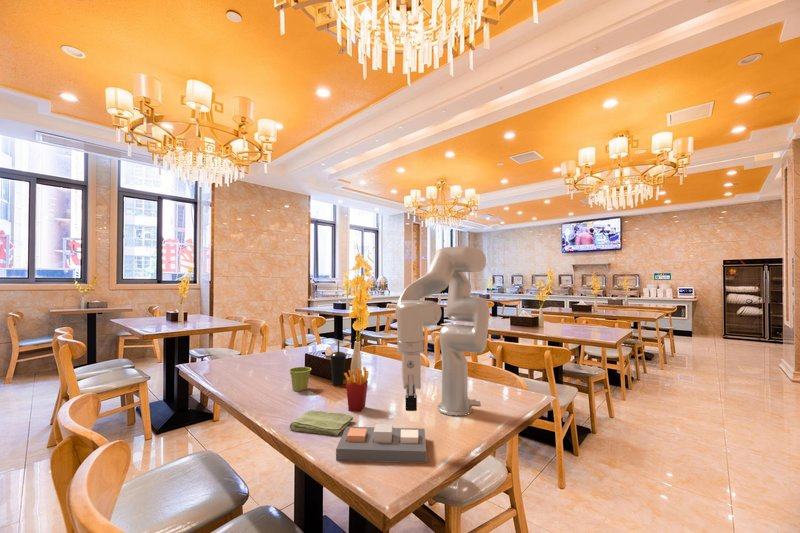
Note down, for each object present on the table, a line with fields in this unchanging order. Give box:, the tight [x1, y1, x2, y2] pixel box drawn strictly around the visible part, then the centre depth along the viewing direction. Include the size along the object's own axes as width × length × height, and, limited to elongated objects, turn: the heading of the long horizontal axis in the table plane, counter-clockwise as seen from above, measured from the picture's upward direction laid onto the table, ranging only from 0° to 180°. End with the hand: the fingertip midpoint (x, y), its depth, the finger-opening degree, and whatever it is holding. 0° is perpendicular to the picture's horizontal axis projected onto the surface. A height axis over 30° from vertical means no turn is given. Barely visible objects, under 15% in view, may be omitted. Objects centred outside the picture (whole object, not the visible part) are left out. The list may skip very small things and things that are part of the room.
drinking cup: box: [329, 340, 348, 387], centre depth 159 cm, size 8×8×20 cm
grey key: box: [374, 423, 394, 443], centre depth 99 cm, size 5×5×3 cm
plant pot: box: [288, 366, 312, 392], centre depth 151 cm, size 9×9×9 cm
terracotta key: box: [347, 428, 367, 442], centre depth 99 cm, size 5×5×3 cm
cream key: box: [400, 429, 418, 444], centre depth 98 cm, size 5×5×3 cm
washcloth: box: [289, 409, 354, 437], centre depth 114 cm, size 13×18×3 cm
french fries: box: [344, 366, 369, 413], centre depth 130 cm, size 9×8×15 cm
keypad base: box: [335, 426, 427, 463], centre depth 99 cm, size 24×14×3 cm, turn 88°
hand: (411, 409), depth 99 cm, fingers closed
